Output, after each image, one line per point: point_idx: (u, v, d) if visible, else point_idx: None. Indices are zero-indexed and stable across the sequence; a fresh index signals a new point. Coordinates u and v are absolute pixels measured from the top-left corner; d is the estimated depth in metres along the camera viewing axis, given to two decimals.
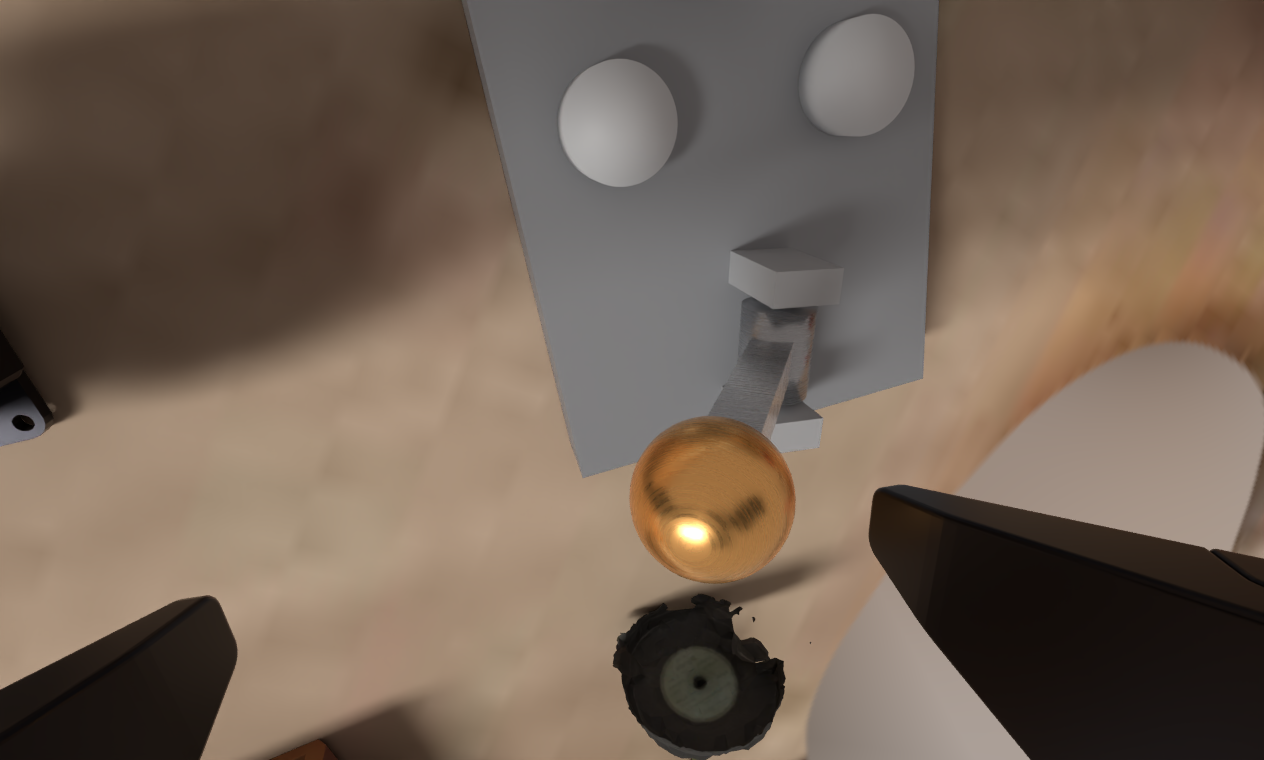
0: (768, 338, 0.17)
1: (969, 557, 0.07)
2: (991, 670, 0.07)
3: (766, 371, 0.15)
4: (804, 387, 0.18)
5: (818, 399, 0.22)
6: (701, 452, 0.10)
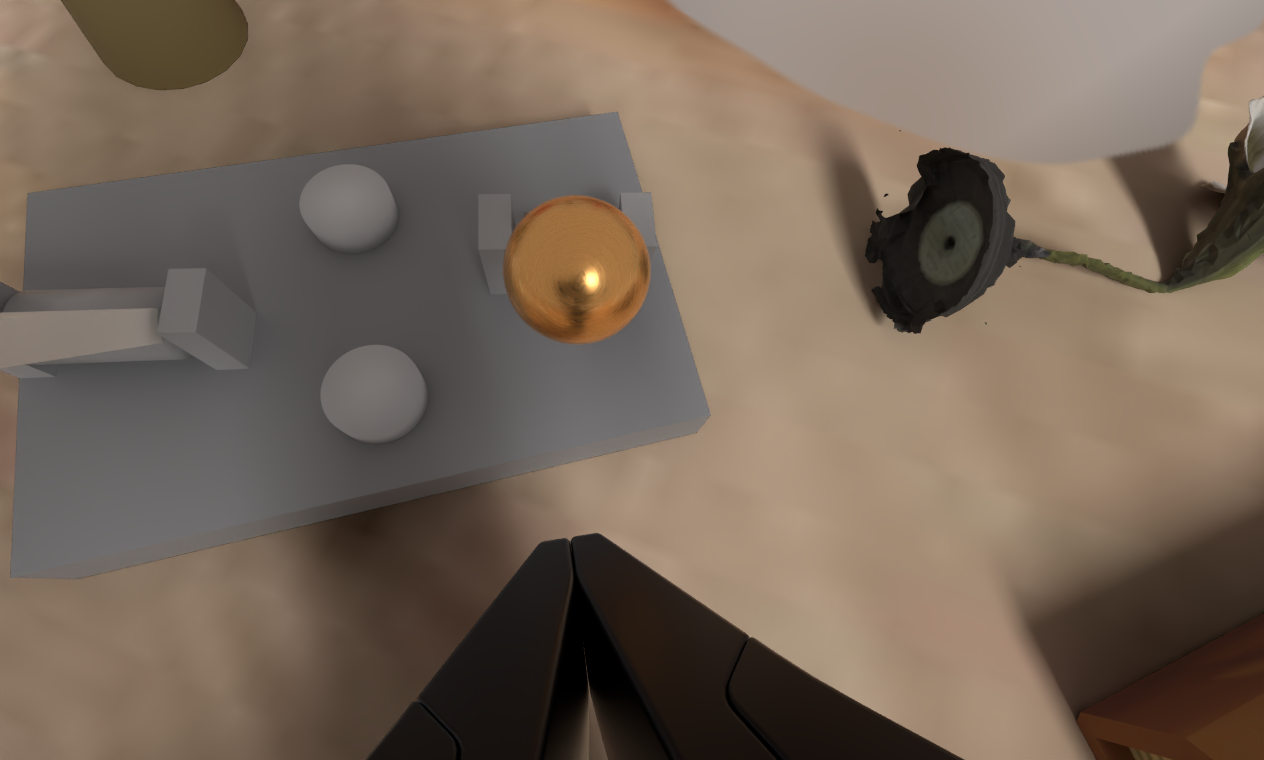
0: None
1: (587, 626, 0.06)
2: (611, 750, 0.06)
3: None
4: None
5: None
6: (510, 280, 0.12)
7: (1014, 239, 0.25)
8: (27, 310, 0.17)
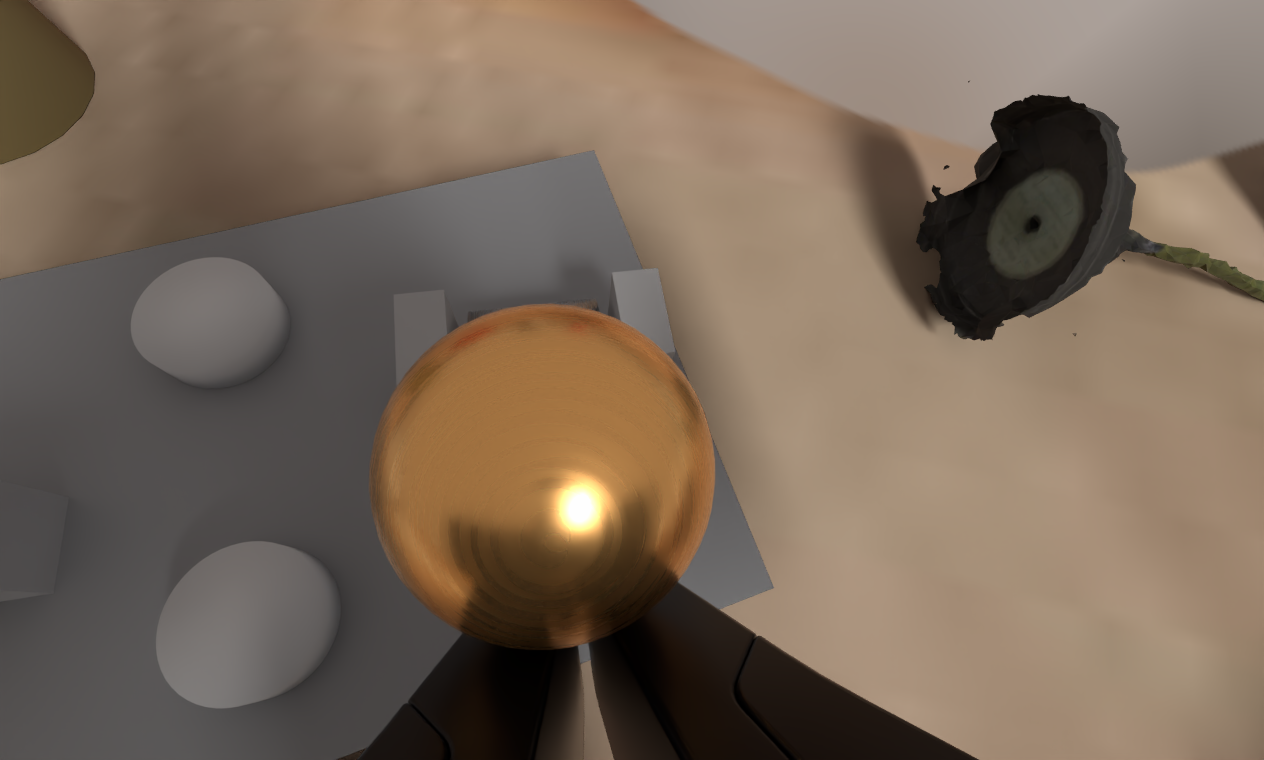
0: None
1: None
2: (617, 749, 0.06)
3: None
4: (577, 304, 0.13)
5: None
6: (381, 531, 0.05)
7: None
8: None
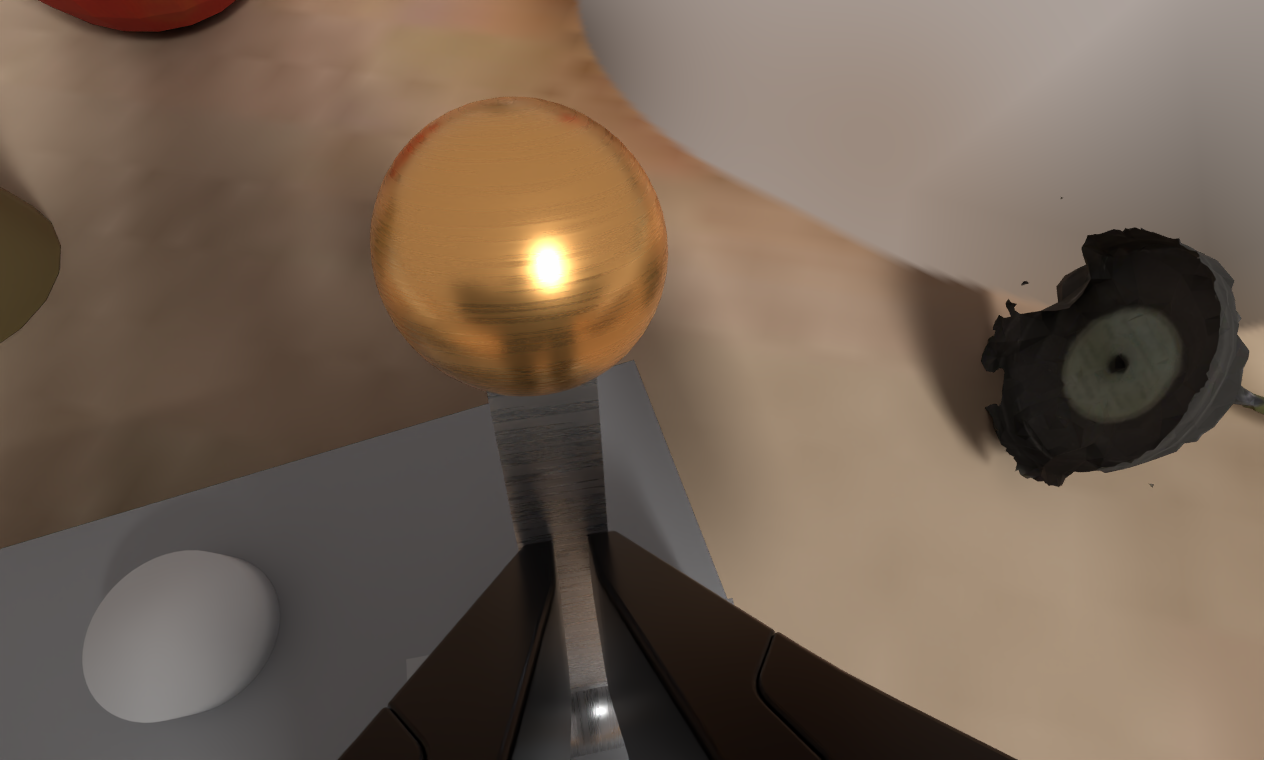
0: None
1: (609, 622, 0.06)
2: (632, 746, 0.06)
3: None
4: None
5: (681, 525, 0.14)
6: (376, 200, 0.06)
7: None
8: None
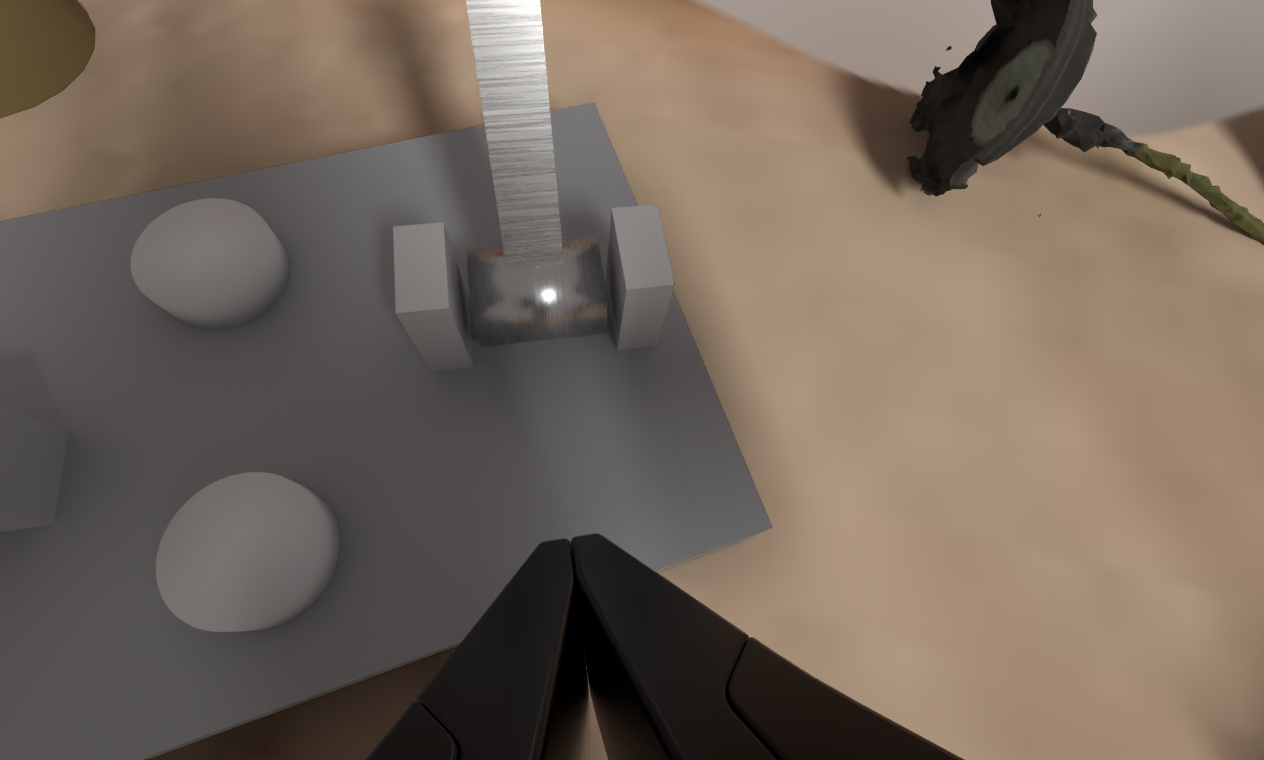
0: (501, 251, 0.13)
1: (587, 626, 0.06)
2: (611, 750, 0.06)
3: None
4: None
5: None
6: None
7: (1097, 119, 0.20)
8: None
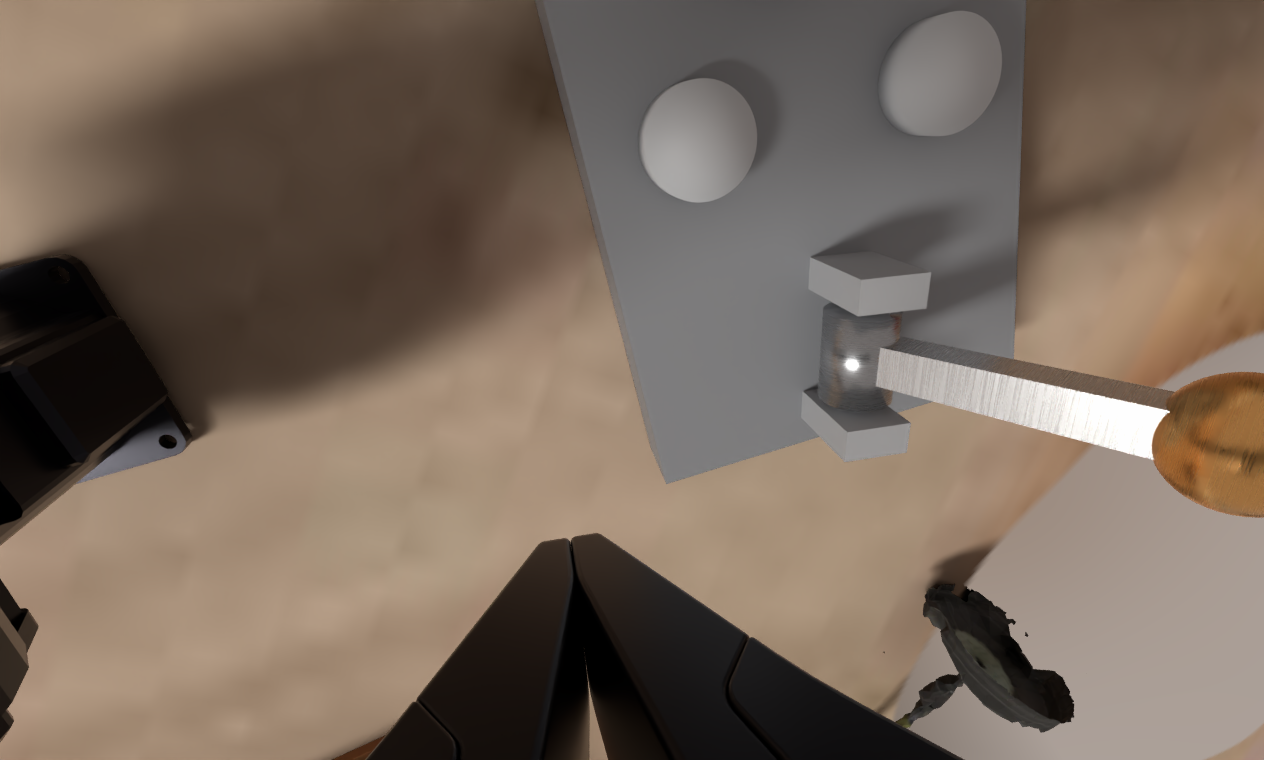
0: (894, 341, 0.17)
1: (588, 626, 0.06)
2: (611, 750, 0.06)
3: (987, 359, 0.16)
4: None
5: (902, 401, 0.21)
6: None
7: (938, 706, 0.29)
8: None
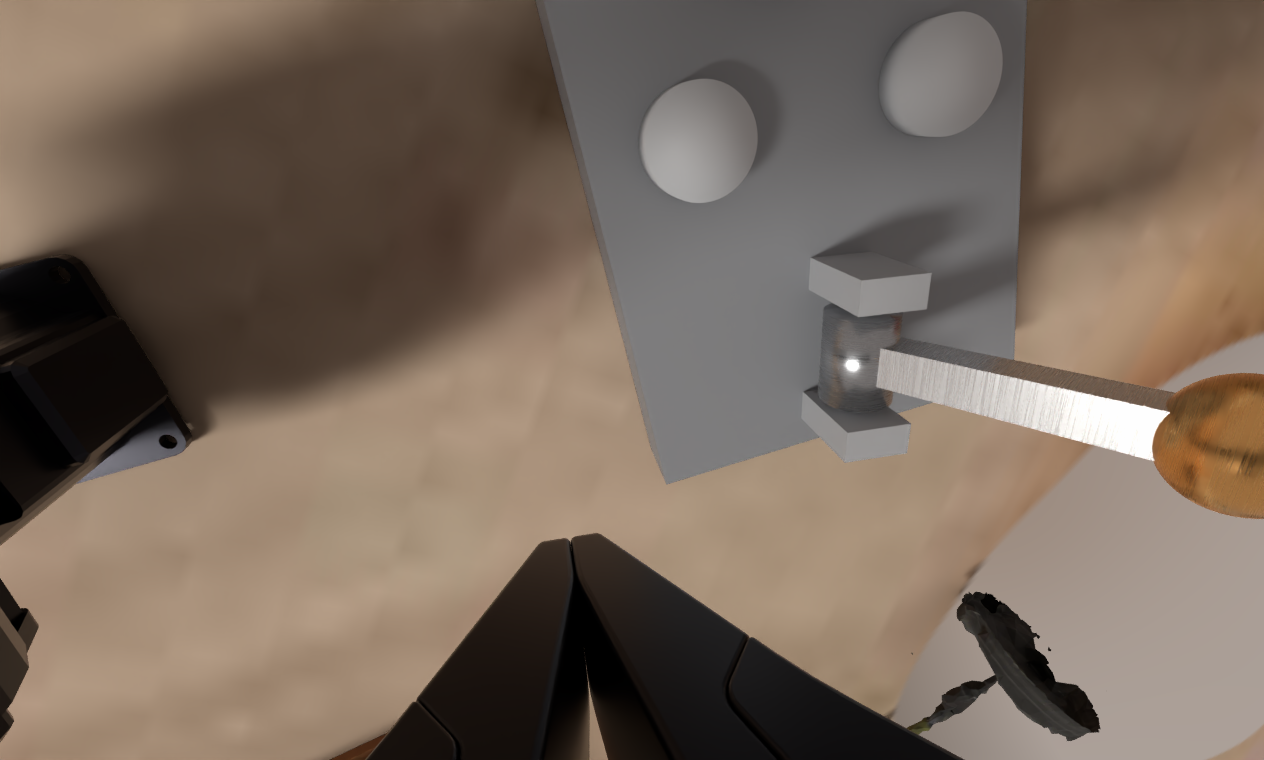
0: (895, 342, 0.17)
1: (588, 626, 0.06)
2: (611, 750, 0.06)
3: (987, 360, 0.16)
4: None
5: (902, 402, 0.21)
6: None
7: (959, 711, 0.29)
8: None
